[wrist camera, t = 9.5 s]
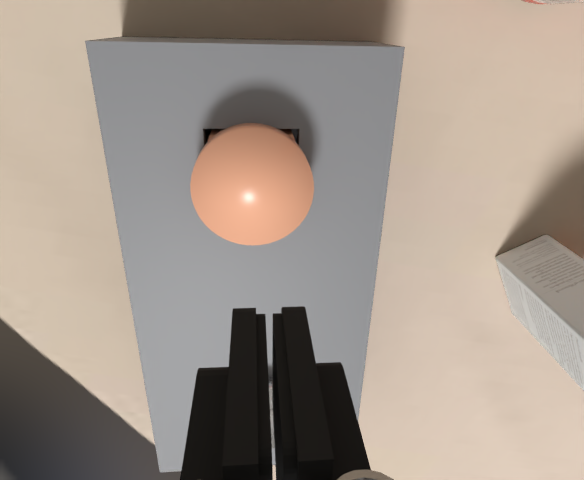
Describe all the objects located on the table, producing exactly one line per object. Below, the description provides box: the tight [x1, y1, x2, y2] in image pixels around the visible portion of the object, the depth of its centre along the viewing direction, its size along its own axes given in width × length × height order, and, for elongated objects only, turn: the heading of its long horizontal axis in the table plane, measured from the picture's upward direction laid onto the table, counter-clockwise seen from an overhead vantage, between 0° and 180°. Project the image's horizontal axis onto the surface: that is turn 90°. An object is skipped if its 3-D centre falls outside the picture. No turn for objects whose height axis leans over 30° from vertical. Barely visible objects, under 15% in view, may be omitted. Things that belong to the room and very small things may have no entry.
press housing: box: [85, 37, 405, 472], centre depth 28 cm, size 14×28×6 cm, turn 179°
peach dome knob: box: [190, 123, 314, 245], centre depth 23 cm, size 6×6×6 cm
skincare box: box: [496, 235, 584, 390], centre depth 28 cm, size 6×4×12 cm
